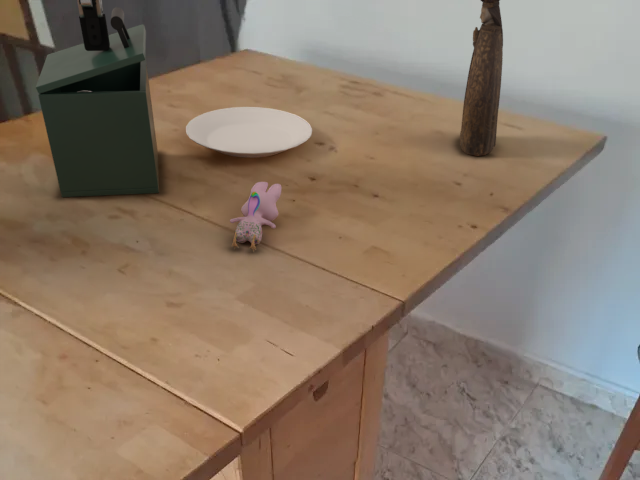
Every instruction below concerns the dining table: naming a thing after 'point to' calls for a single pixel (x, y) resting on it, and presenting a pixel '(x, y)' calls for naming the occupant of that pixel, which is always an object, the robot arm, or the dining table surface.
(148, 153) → the waste bin
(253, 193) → the rabbit figure
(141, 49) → the bin lid
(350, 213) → the dining table surface
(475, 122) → the statue
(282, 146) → the plate
